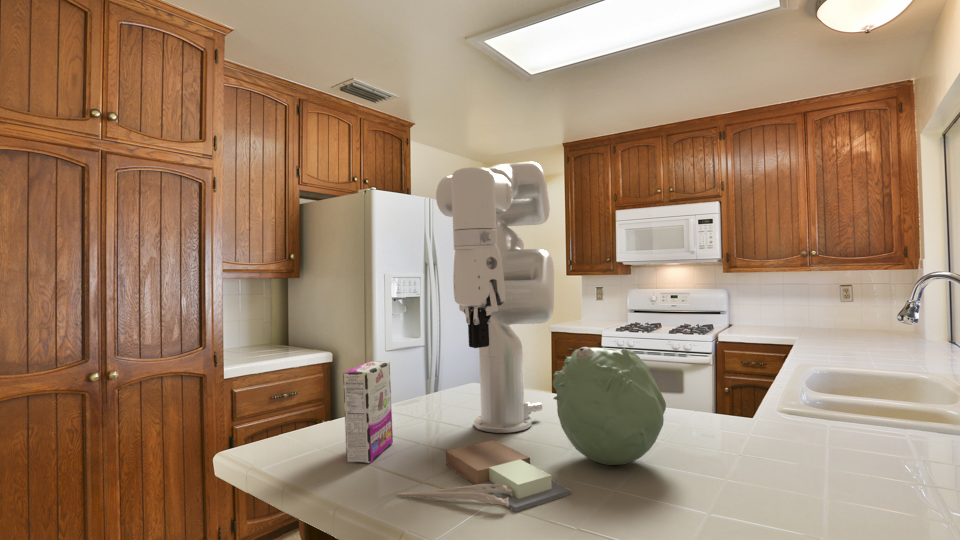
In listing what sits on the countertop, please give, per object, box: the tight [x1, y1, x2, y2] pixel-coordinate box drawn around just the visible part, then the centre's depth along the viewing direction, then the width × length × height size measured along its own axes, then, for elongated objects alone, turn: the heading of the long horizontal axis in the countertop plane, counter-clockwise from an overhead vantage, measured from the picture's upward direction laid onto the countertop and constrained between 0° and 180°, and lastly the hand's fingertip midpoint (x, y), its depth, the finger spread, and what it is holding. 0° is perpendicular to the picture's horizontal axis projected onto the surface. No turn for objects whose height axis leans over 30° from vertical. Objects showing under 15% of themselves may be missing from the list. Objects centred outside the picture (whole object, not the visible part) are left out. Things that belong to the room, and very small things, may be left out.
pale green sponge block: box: [489, 460, 552, 499], centre depth 76 cm, size 6×8×2 cm
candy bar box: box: [342, 360, 394, 464], centre depth 94 cm, size 11×5×16 cm, turn 168°
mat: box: [480, 479, 572, 513], centre depth 75 cm, size 10×10×1 cm
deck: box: [445, 439, 531, 485], centre depth 85 cm, size 10×11×2 cm
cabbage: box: [552, 346, 667, 466], centre depth 86 cm, size 16×19×20 cm
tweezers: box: [396, 484, 513, 508], centre depth 73 cm, size 17×5×2 cm, turn 75°
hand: (479, 346), depth 87 cm, fingers closed
